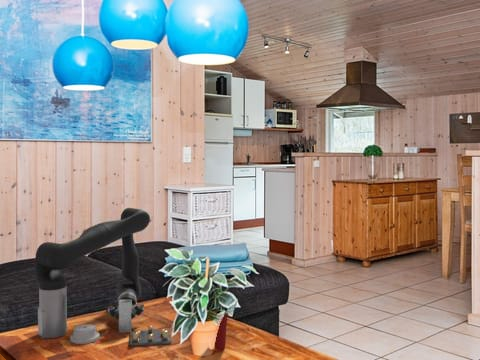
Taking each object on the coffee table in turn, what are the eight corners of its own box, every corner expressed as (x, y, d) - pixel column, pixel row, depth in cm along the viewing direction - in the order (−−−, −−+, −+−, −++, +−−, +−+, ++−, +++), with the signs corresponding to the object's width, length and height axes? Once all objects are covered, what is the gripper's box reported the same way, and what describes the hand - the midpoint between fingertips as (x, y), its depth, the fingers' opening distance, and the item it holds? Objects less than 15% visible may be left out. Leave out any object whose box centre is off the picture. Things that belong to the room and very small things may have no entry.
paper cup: (230, 344, 174) (230, 304, 173) (224, 353, 166) (225, 311, 165) (208, 342, 175) (208, 302, 175) (202, 350, 168) (202, 309, 167)
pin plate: (129, 346, 171) (129, 334, 171) (130, 333, 183) (130, 323, 183) (171, 343, 174) (171, 332, 174) (169, 331, 186) (169, 321, 185)
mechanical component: (84, 332, 185) (63, 341, 176) (84, 320, 185) (63, 329, 176) (105, 337, 180) (85, 346, 171) (105, 325, 180) (84, 334, 171)
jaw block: (118, 332, 184) (118, 303, 183) (119, 328, 188) (119, 299, 188) (131, 332, 185) (131, 302, 184) (131, 327, 189) (131, 299, 189)
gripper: (108, 294, 199) (104, 307, 182) (145, 292, 201) (144, 305, 185) (108, 313, 199) (105, 327, 183) (145, 311, 202) (145, 325, 185)
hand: (125, 316), depth 184 cm, fingers closed on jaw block, 4 cm apart
